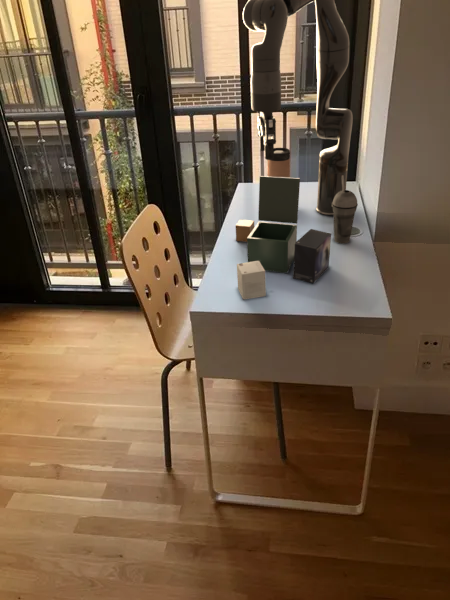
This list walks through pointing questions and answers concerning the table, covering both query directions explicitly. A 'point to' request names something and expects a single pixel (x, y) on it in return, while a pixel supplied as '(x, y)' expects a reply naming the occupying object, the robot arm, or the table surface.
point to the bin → (272, 245)
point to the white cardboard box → (251, 280)
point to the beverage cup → (344, 214)
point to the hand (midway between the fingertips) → (266, 154)
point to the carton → (244, 229)
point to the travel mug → (279, 163)
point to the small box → (311, 255)
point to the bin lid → (278, 199)
